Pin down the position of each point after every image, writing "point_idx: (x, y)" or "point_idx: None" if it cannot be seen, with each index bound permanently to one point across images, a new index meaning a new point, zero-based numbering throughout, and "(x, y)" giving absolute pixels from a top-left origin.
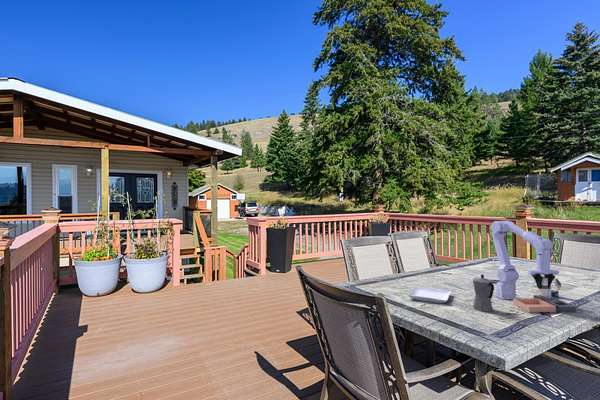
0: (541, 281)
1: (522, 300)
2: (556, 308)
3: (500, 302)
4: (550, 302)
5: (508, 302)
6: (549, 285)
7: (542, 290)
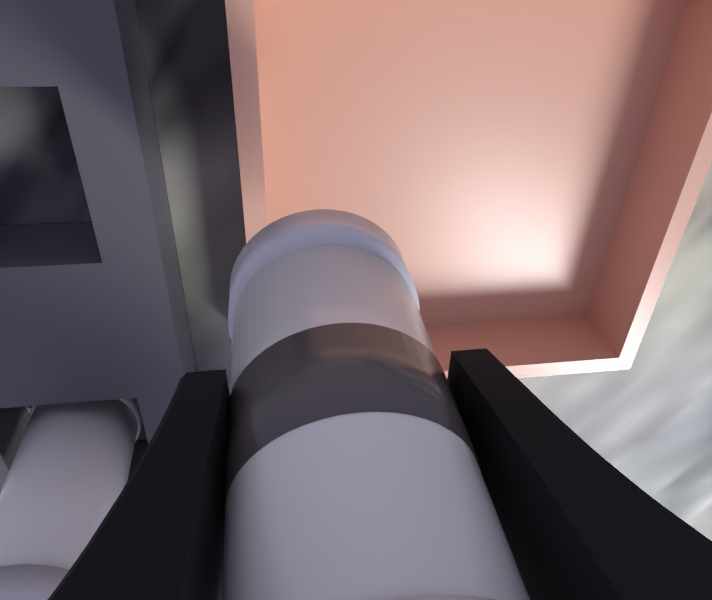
0: (616, 549)
1: (505, 350)
2: (138, 56)
3: (670, 376)
4: (147, 252)
5: (583, 380)
6: (194, 445)
7: (415, 317)
